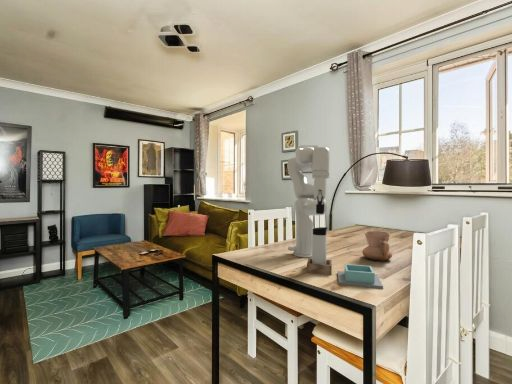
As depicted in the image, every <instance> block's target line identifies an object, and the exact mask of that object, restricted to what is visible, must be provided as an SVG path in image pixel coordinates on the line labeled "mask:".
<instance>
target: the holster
mask: <svg viewBox="0 0 512 384" xmlns="http://www.w3.org/2000/svg"><path fill="white" fill-rule="evenodd" d="M332 263H333V262H332V259H327V258H326V265H323V264H312V257H308V258H307V262H306V273H307V274H316V275H317V274H318V275H327V276H328V275H330V276H331V275H332V274H333V273H332V269H333V268H332V267H333V266H332Z"/></svg>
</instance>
